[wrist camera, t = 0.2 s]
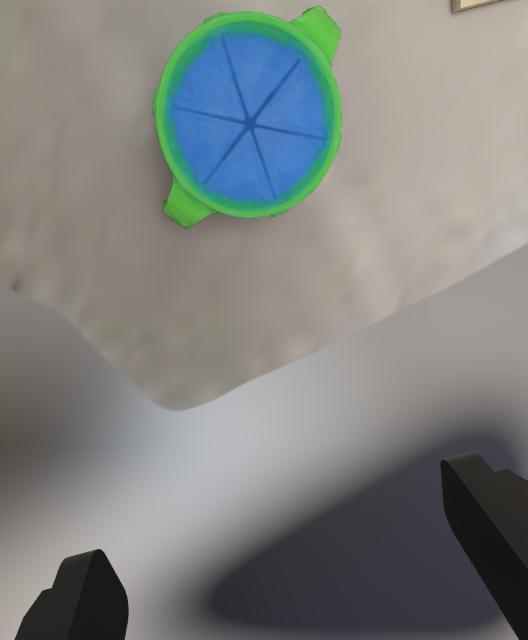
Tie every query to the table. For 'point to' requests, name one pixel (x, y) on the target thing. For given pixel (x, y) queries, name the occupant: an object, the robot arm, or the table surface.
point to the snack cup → (249, 114)
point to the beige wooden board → (468, 4)
